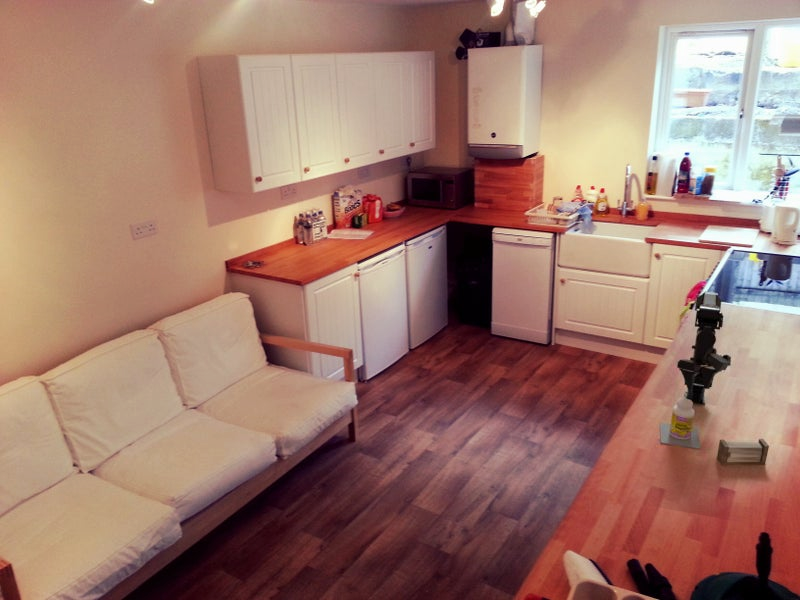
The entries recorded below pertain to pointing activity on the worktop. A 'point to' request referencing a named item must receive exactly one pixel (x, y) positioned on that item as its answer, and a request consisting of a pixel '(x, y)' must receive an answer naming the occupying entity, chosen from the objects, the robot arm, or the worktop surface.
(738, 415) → the worktop surface
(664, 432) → the slate mat
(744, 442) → the offcut rack
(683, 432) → the supplement bottle
